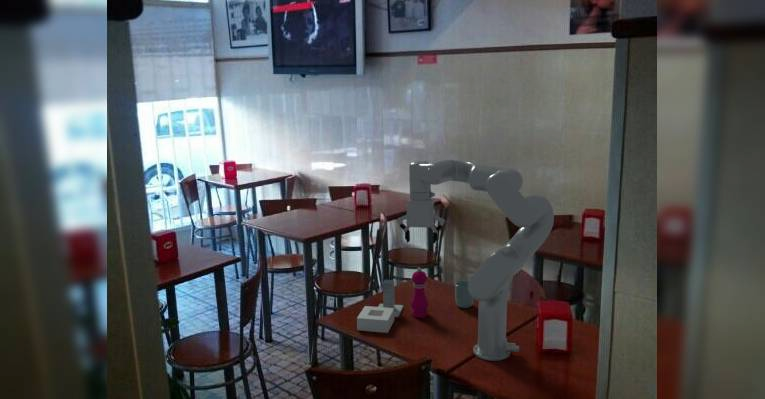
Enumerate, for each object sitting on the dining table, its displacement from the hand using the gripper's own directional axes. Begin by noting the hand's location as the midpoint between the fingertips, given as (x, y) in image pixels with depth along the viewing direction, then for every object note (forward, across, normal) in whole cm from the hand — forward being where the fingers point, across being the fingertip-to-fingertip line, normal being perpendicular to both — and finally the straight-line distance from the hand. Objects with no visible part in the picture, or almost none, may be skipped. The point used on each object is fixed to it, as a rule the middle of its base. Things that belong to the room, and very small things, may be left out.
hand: (421, 242), depth 210 cm
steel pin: (+34, +17, -19) cm, 43 cm away
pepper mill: (+36, +4, -18) cm, 40 cm away
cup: (+36, -12, -30) cm, 48 cm away
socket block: (+36, +19, -5) cm, 41 cm away
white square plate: (+36, +18, -19) cm, 44 cm away
